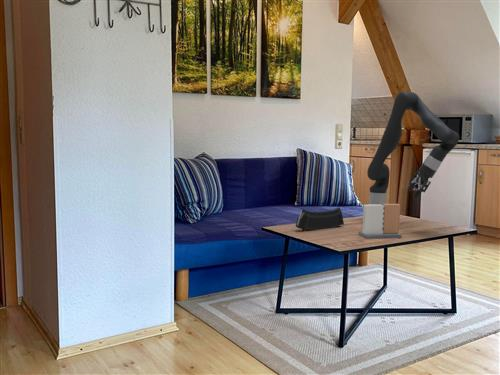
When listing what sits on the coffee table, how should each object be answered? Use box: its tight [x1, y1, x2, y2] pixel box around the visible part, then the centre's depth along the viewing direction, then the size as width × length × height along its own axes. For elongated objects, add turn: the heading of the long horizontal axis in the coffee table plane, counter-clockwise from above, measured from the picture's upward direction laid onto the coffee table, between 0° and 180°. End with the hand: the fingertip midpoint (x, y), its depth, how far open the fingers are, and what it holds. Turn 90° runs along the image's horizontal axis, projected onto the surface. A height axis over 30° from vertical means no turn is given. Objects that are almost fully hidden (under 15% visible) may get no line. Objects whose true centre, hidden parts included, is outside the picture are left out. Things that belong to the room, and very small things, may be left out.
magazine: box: [295, 207, 345, 232], centre depth 262 cm, size 17×3×30 cm
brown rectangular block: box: [383, 203, 401, 234], centre depth 247 cm, size 3×8×14 cm, turn 101°
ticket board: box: [357, 204, 402, 240], centre depth 247 cm, size 10×18×16 cm, turn 101°
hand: (412, 193), depth 252 cm, fingers open, 8 cm apart
